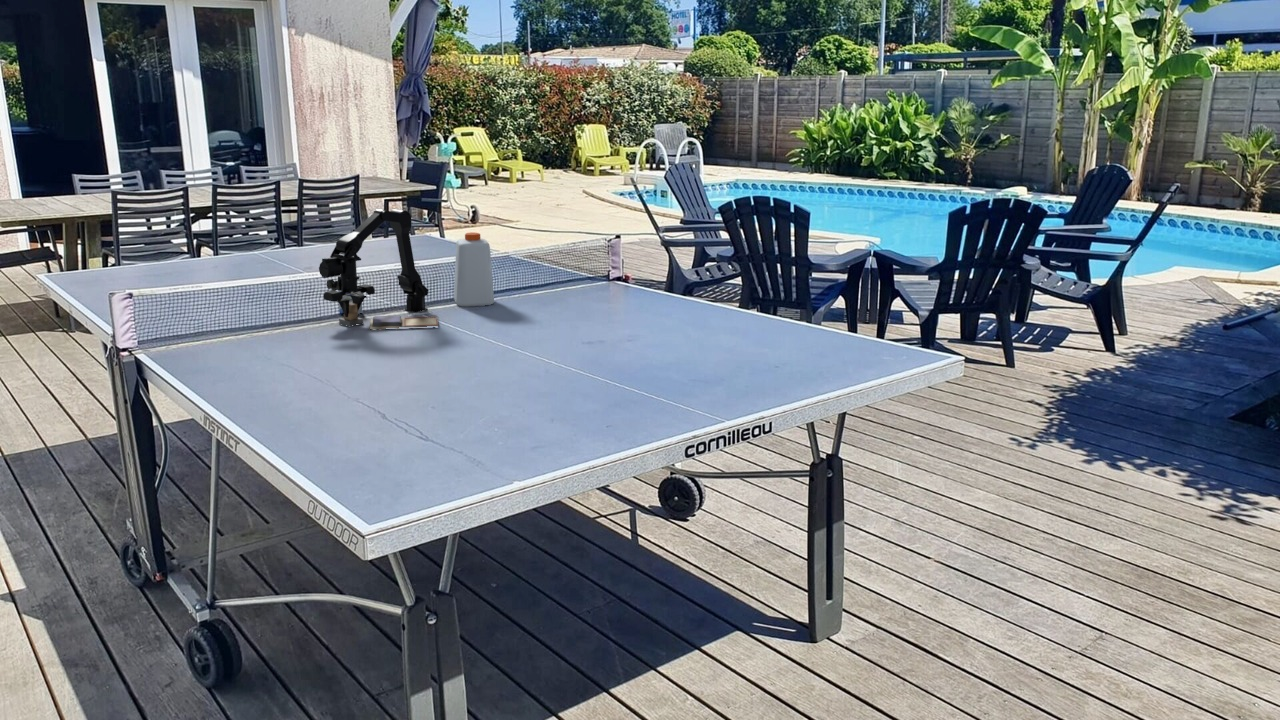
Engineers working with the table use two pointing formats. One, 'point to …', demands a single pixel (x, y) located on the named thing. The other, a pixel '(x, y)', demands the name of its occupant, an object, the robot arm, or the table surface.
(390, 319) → the board
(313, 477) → the table surface
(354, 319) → the stamp
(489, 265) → the plastic bottle
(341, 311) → the medicine box
